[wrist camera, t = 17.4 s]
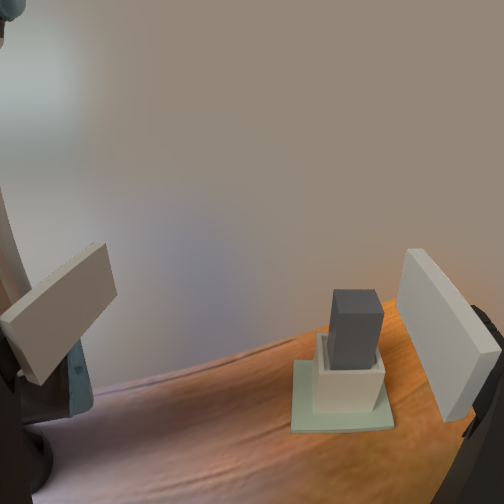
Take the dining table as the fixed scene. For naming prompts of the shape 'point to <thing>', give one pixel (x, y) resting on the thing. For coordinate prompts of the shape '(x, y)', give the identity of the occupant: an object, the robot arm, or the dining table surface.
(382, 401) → the green baseplate
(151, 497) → the dining table surface
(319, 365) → the cream base brick
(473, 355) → the robot arm
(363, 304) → the charcoal brick
